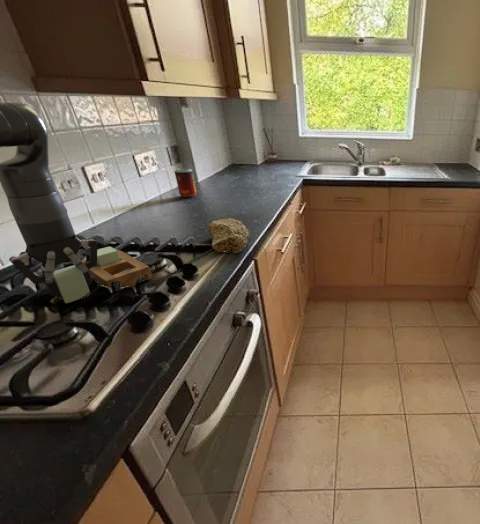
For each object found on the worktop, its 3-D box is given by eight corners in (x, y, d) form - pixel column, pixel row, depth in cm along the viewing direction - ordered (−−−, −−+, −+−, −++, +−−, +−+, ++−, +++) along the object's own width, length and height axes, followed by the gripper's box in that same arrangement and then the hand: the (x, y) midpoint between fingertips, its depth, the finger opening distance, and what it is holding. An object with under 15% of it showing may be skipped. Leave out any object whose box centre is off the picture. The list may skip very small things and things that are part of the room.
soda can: (181, 194, 153) (175, 167, 148) (198, 194, 155) (193, 167, 150) (178, 198, 147) (172, 170, 142) (196, 198, 149) (190, 170, 144)
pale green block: (66, 303, 70) (55, 278, 67) (58, 296, 72) (48, 272, 69) (91, 295, 73) (81, 271, 70) (83, 288, 75) (73, 265, 73)
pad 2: (105, 277, 83) (97, 256, 80) (97, 272, 85) (89, 251, 82) (124, 271, 86) (117, 250, 83) (116, 266, 88) (109, 246, 85)
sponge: (251, 257, 99) (253, 222, 114) (242, 236, 94) (245, 202, 109) (206, 267, 97) (214, 230, 112) (194, 246, 92) (205, 211, 107)
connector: (110, 294, 76) (106, 281, 75) (82, 273, 84) (77, 261, 83) (152, 278, 83) (149, 266, 81) (122, 261, 91) (119, 249, 89)
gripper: (79, 204, 72) (103, 274, 79) (-16, 220, 61) (23, 299, 68) (93, 211, 68) (117, 283, 75) (-5, 230, 57) (35, 312, 65)
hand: (72, 290), depth 72 cm, fingers closed on pale green block, 4 cm apart
